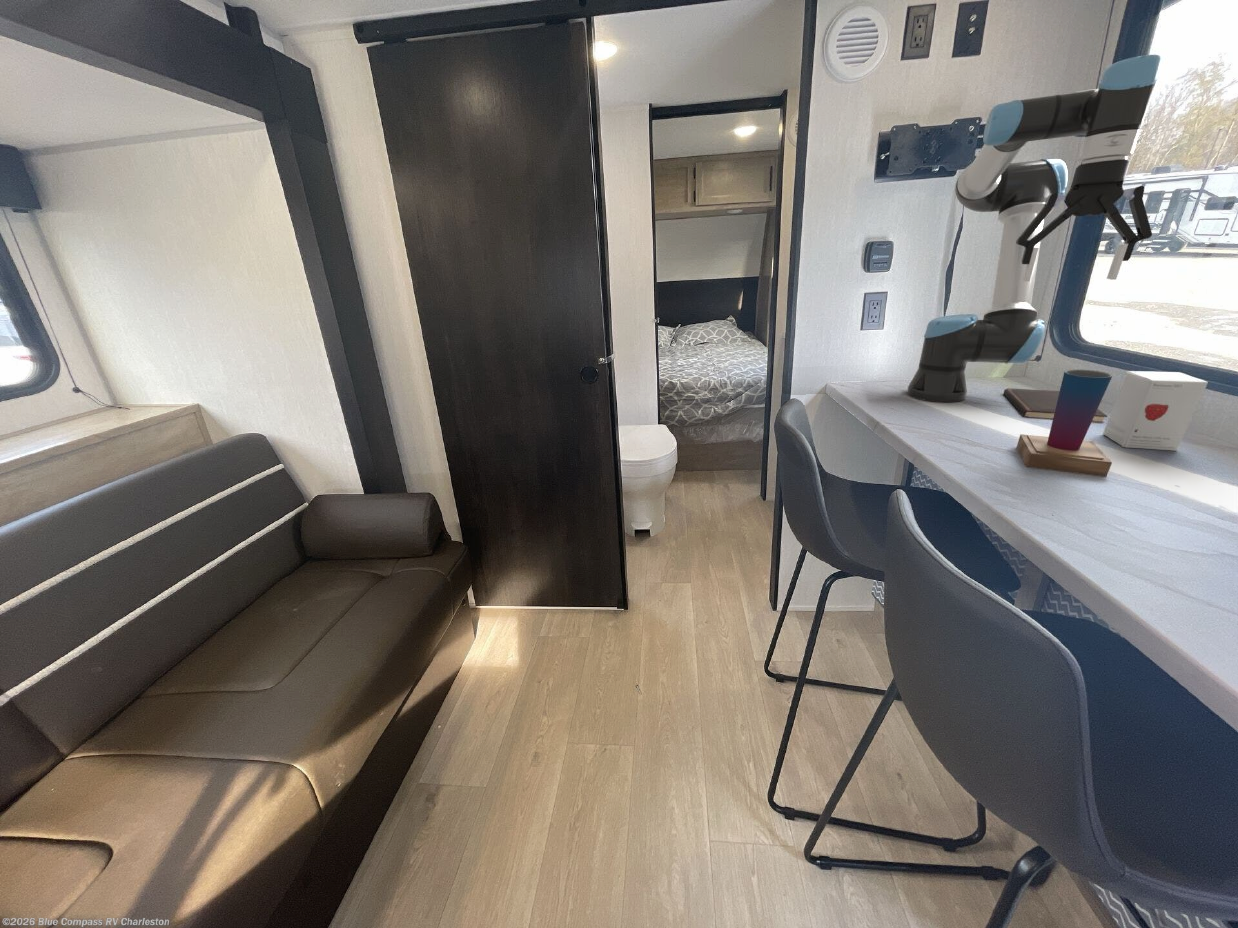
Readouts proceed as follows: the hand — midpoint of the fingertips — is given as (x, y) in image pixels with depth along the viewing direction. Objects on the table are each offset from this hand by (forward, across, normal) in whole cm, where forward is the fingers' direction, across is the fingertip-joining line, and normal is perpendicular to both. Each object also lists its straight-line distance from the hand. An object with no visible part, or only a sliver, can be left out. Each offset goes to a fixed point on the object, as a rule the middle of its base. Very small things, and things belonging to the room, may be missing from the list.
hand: (1067, 280), depth 99 cm
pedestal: (+34, +4, -16) cm, 38 cm away
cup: (+31, +4, -16) cm, 35 cm away
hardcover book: (+35, +10, +27) cm, 46 cm away
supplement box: (+34, +21, +2) cm, 40 cm away
